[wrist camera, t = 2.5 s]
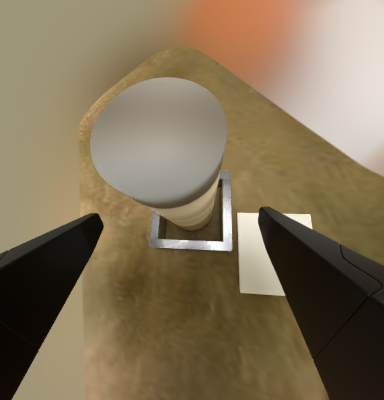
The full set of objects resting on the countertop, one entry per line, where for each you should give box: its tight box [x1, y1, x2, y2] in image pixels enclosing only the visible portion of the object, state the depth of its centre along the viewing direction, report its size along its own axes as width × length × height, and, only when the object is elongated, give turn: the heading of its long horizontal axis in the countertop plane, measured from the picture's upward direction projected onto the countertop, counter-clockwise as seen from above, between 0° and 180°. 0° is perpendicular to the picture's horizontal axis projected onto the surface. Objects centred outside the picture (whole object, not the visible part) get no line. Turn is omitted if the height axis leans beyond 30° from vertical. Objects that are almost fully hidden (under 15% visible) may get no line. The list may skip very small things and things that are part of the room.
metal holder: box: [149, 172, 232, 251], centre depth 17 cm, size 8×8×2 cm
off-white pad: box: [237, 213, 312, 296], centre depth 16 cm, size 8×8×1 cm
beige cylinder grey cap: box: [90, 78, 227, 232], centre depth 12 cm, size 4×4×14 cm
